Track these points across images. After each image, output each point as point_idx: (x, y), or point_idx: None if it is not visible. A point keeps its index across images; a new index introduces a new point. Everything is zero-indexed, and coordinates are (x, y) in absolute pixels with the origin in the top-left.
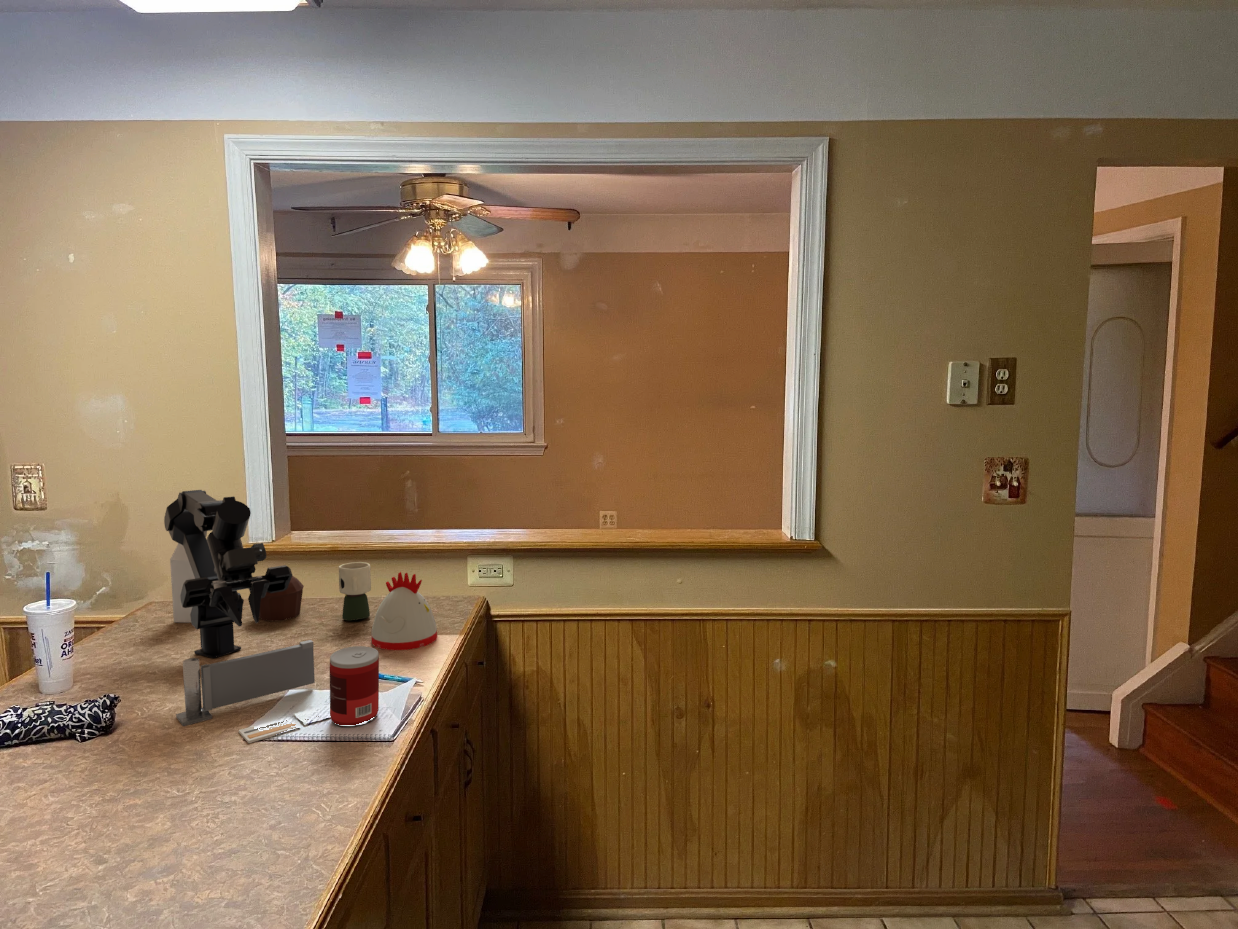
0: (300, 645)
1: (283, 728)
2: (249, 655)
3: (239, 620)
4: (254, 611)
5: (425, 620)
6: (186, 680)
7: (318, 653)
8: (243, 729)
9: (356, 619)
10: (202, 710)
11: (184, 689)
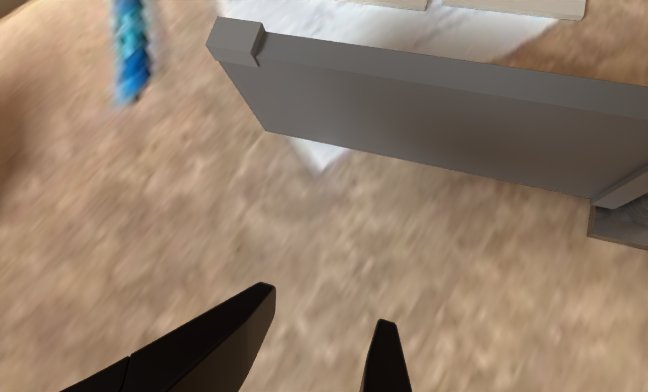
0: (262, 41)
1: None
2: (480, 91)
3: (390, 339)
4: (230, 345)
5: None
6: None
7: (54, 378)
8: (571, 10)
9: None
10: (611, 210)
11: None
